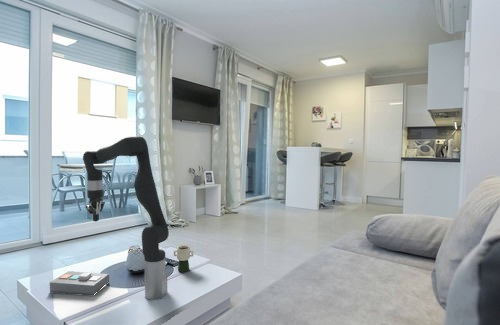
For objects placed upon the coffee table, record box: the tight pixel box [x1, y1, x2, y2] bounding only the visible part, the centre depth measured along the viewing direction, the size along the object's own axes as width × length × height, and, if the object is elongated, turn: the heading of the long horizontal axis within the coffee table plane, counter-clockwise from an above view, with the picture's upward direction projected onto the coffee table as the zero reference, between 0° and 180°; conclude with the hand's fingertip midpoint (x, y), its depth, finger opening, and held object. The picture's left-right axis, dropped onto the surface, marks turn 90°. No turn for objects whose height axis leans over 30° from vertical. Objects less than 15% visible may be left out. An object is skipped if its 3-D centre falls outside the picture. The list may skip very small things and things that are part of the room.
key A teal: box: [69, 275, 80, 280], centre depth 141 cm, size 4×4×4 cm
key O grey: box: [79, 272, 92, 281], centre depth 141 cm, size 4×4×4 cm
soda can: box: [127, 245, 142, 254], centre depth 164 cm, size 7×7×12 cm
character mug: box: [173, 245, 194, 273], centre depth 162 cm, size 11×7×13 cm, turn 90°
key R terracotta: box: [59, 273, 73, 280], centre depth 142 cm, size 4×4×4 cm
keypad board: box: [49, 271, 110, 296], centre depth 141 cm, size 22×12×5 cm, turn 83°
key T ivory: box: [88, 276, 101, 282], centre depth 140 cm, size 4×4×4 cm
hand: (96, 221), depth 154 cm, fingers closed
